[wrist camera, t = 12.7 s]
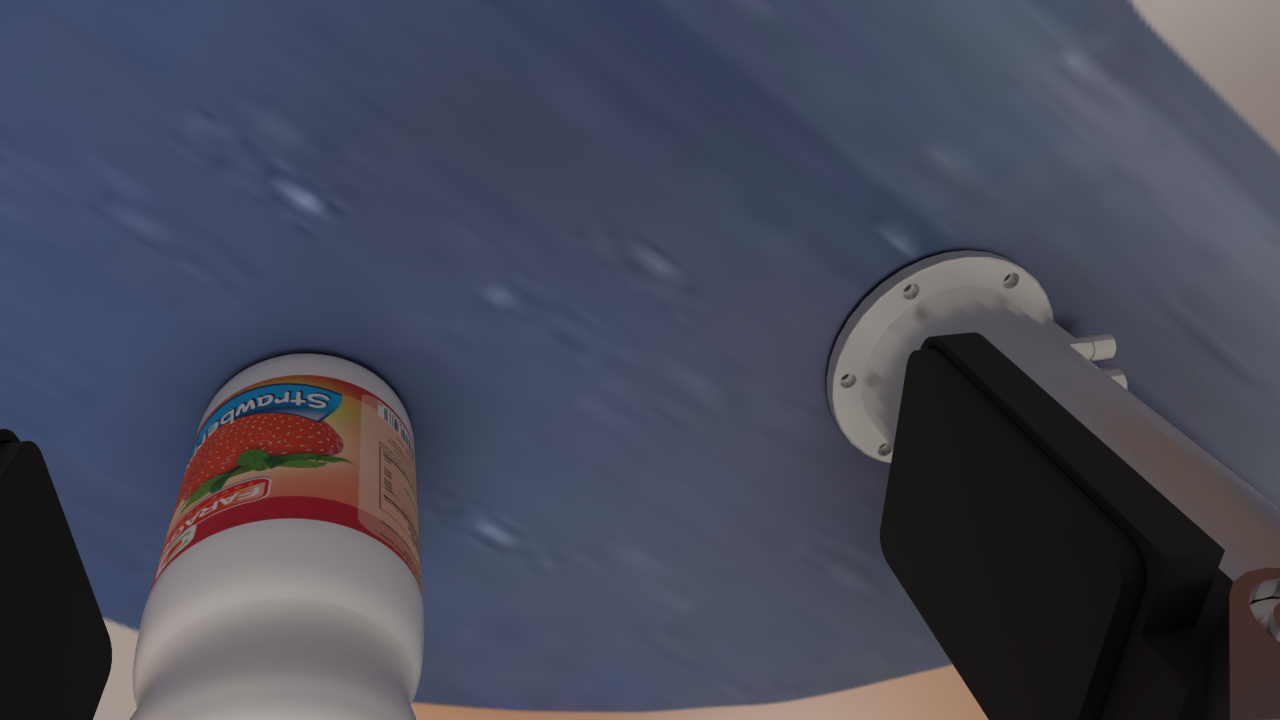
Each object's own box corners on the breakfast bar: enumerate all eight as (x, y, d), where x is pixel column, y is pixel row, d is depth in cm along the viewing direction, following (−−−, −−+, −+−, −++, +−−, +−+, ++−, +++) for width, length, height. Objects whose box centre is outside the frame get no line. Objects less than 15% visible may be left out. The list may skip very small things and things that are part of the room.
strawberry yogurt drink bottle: (318, 545, 47) (257, 1275, 24) (154, 441, 42) (-129, 1229, 19) (455, 428, 46) (533, 1085, 22) (300, 306, 41) (191, 982, 17)
